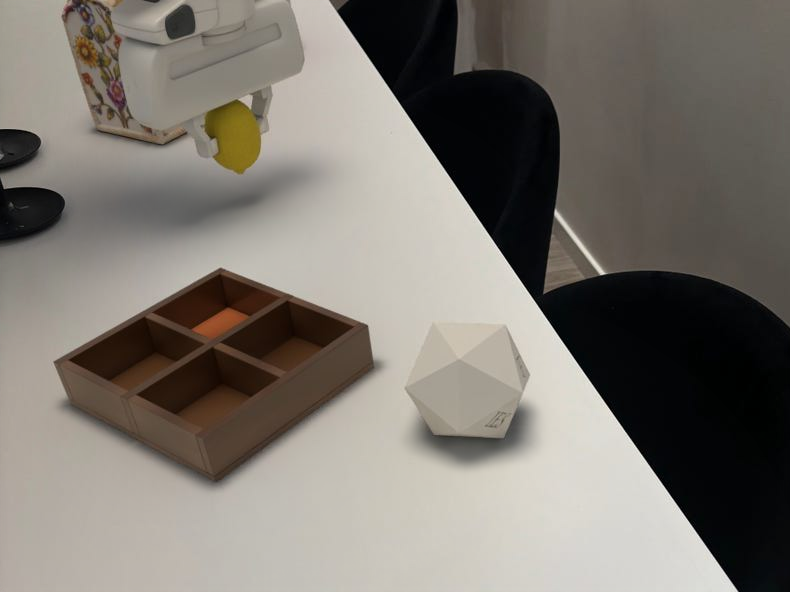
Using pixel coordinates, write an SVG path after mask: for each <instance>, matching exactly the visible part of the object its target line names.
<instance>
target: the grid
mask: <svg viewBox="0 0 790 592" xmlns="http://www.w3.org/2000/svg"><path fill="white" fill-rule="evenodd" d="M53 365H54V367H55V369H56V371H57V375H58V377H59V379H60V382H61V384H62V387H63V389H64V392H65V394H66V397H67V398H68V401H69V404H70V405H71V406H74V407H76V408H77V409H79V410H82V411H83V412H85V413H87V414H89V415H90V416H92V417H94V418H96V419H98V420H100V421H101V422H104V423H105V424H107V425H109V426H111V427H113V428H115V429H116V430H118V431H120V432H122V433H124V434H126V435H127V436H129V437H131V438H133V439H135V440H137V441H138V442H140V443H142V444H144V445H147V446H148V447H150V448H152V449H153V450H155V451H157V452H159V453H161V454H163V455H165V456H166V457H168V458H170V459H172V460H174V461H175V462H177V463H179V464H181V465H183V466H185V467H186V468H189V469H190V470H192V471H194V472H196V473H197V474H200V475H202V476H203V477H205V478H207V479H209V480H211V481H213V482H214V483H218V482H219V481H221V480H222V479H224V478H225V477H226V476H227V475H229V474H230V473H232V472H234V471H235V470H236V469H237V468H238V467H240V466H241V465H243V464H244V463H246V462H247V461H248V460H250V459H251V458H252V457H254V456H255V455H256V454H258V453H259V452H260V451H262V450H263V449H265V448H266V447H267V446H269V445H270V444H271V443H273V442H274V441H275V440H277V439H278V438H279V437H281V436H282V435H284V434H285V433H286V432H288V431H289V430H290V429H292V428H293V427H294V426H296V425H297V424H298V423H300V422H302V421H303V420H304V419H306V418H307V417H309V416H310V415H311V414H312V413H314V412H316V410H318V409H319V408H321V407H322V406H324V405H325V404H327V402H329V401H330V400H332V399H333V398H334V397H336V396H338V395H339V394H340V393H341V392H342V391H344V390H345V389H347V388H348V387H350V386H351V385H352V384H354V383H355V382H356V381H358V380H359V379H360V378H362V377H363V376H364V375H366V374H367V373H368V372H370V371H371V370H373V369H374V368H375V363H374V355H373V349H372V342H371V335H370V329H369V325H368V324H367V323H365V322H362V321H359V320H357V319H355V318H351V317H349V316H347V315H343V314H341V313H338V312H336V311H334V310H331V309H328V308H326V307H324V306H321V305H318V304H315V303H312V302H310V301H308V300H305V299H303V298H300V297H297V296H295V295H292V294H290V293H287V292H285V291H282V290H280V289H276V288H274V287H271V286H270V285H267V284H263V283H261V282H259V281H256V280H253V279H251V278H249V277H246V276H243V275H242V274H241V275H240V274H238V273H235V272H233V271H230V270H228V269H226V268H223V267H219V268H217V269H215V270H213V271H212V272H209V273H208V274H206V275H204V276H202V277H201V278H199V279H197V280H195V281H194V282H192V283H190V284H189V285H187V286H185V287H182V288H181V289H180V290H178V291H175V292H173V294H171V295H169V296H167V297H165V298H163V299H162V300H160V301H158V302H156V303H155V304H152V305H151V306H149V307H147V308H145V309H144V310H142V311H140V312H139V313H137V314H135V315H133V316H131V317H130V318H128V319H126V320H124V321H123V322H120V323H119V324H117V325H115V326H114V327H112V328H110V329H108V330H106V331H104V332H103V333H101V334H100V335H98V336H96V337H94V338H93V339H91V340H89V341H86V342H85V343H83V344H82V345H79V346H78V347H77V348H75V349H73V350H71V351H70V352H67V353H65V354H64V355H62V356H60V357H59V358H57V359H55V360H53Z"/></svg>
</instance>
